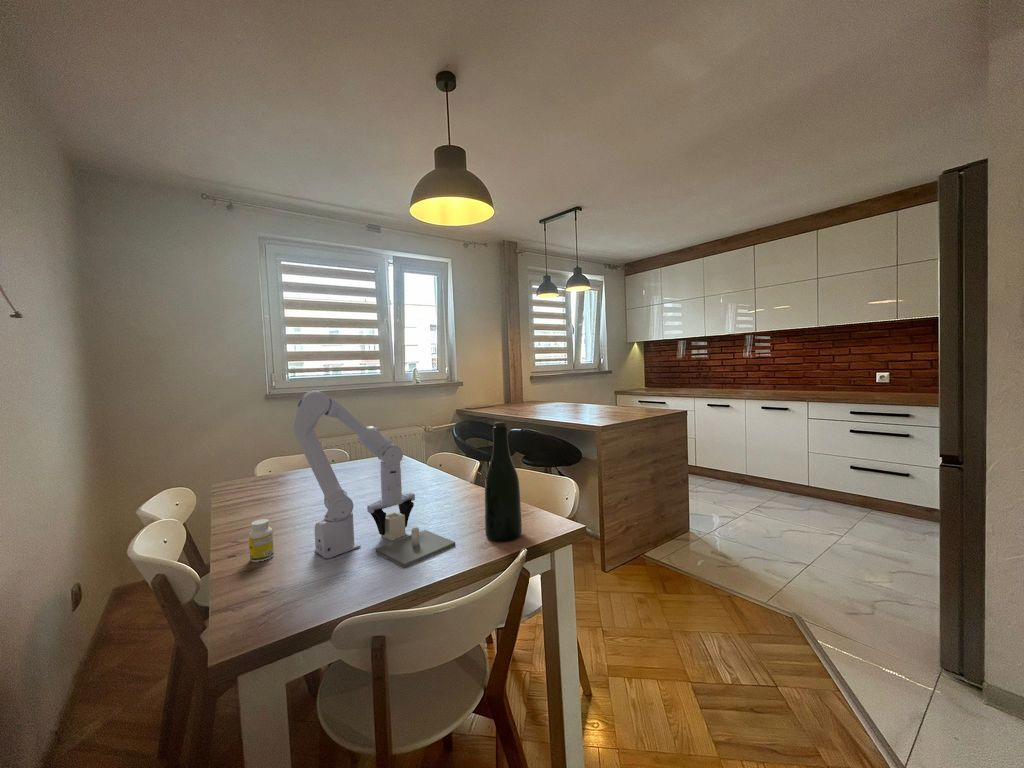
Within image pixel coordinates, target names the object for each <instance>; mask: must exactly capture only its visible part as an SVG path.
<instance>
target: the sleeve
mask: <svg viewBox="0 0 1024 768" xmlns="http://www.w3.org/2000/svg"><path fill="white" fill-rule="evenodd" d="M380 536H381V537H382V536H383V537H382V538H384V537H385V539H386V538H387V539H386V540H388V539H389V540H388V541H390V540H391V541H393V539H394V540H396V539H398V537H399V538H401V537H402V538H403V537H404V536H406V527H405V515H403V514H401V513H400V512H398V511H392V512H390V513H386V518H385V535H381V534H380Z"/></svg>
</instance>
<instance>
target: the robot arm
mask: <svg viewBox="0 0 1024 768" xmlns="http://www.w3.org/2000/svg"><path fill="white" fill-rule="evenodd" d="M323 416H326V417H329V418H330V417H331V418H336V419H337V420H338V421H340V422H341V423H342V424H344V425H345V426H346V427H347V428H349V429H350V430H351V431H353V432H354V433H355V434H357V436H358V442H359V443H360V445H363V447H364V448H366V449H367V450H368V451H370V452H371V453H372V454H373V455H375V456H377V458H378V460H381V461H380V488H381V492H380V493H381V499H380V500H378V501H376V502H372V503H370V504H367V507H366V509H367V513H369V514H370V515H371V516H372V519H373V520H374V522H375V524H376V527H377V530H378V534H379V535H380V536H381V535H385V518H386V514H387V513H386V512H385V511H384V509H387V508H391V507H394V506H398V509H399V513H401V514H403V515H405V528H408V523H409V518H410V514H411V512H412V509H413V508H414V505H415V503H414V502H413V501H416V495H415V493H413V492H410V493H405V494H403V491H402V473H401V472H402V469H401V462H402V461H403V459H404V458H403V457H404V454H403V452H402V449H401V448H400V447H399V446H397V445H396V444H394V443H393V440H392V439H391V438H388V437H386V436H385V435H384V434H383V433H382V432H381V431H382V430H381V428H379V427H377V426H376V427H375V426H373V425H370V426H369V425H367V426H366V425H365V424H364V423H363V422H362V421H360V420H359V419H358V417H356V416H355V415H354V414H353V413H351V411H349V410H348V409H347V408H346V407H345V406H344V405H342V404H341V403H339V402H338V401H336V400H335V399H333V398H331V397H329V396H328V395H327V394H326V393H324V392H322V391H318V390H310V391H307V392H306V393H305V392H304V394H303V395H302V397H300V399H299V401H298V403H297V404H296V411H295V414H294V419H293V423H292V431H293V433H294V436H295V437H296V440H297V442H298V444H299V446H300V448H301V449H302V451H303V454H304V456H305V458H306V460H307V462H308V464H309V466H310V468H311V470H312V473H313V475H314V477H315V479H316V481H317V483H318V485H319V487H320V490H321V491H322V493H323V497H324V498H323V503H324V504H323V505H324V506H325V508H326V509H327V511H326V513H325V515H324V518H323V519H322V520H320V521H318V522H316V523H315V524H314V544H315V547H314V552H316V553H317V554H319V555H320V556H321V557H323V558H324V559H326V560H327V559H330V558H334V557H336V556H339V555H341V554H345V553H347V552H350V551H353V550H356V549H358V548H361V544H359V543H358V542H356V541H355V531H354V530H355V529H354V525H355V524H354V511H353V510H354V502H353V500H352V499H351V498H350V497H349V496H348V493H347V491H345V490H344V489H343V488H342V486H341V485H340V482H339V481H338V478H337V476H336V474H335V472H334V470H333V468H332V466H331V463H330V462H329V459H328V456H327V455H326V452H325V451H324V449H323V447H322V445H321V442H320V440H319V438H318V435H317V434H316V432H315V428H316V426H317V424H318V422H319V420H320V419H321V418H322V417H323Z"/></svg>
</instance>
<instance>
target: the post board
mask: <svg viewBox="0 0 1024 768" xmlns="http://www.w3.org/2000/svg"><path fill="white" fill-rule="evenodd" d="M453 547H456V542H455V541H453V540H451V539H449V538H446V537H443V536H442V535H439V534H436V533H433V532H432V531H429V530H427V529H423V530H421V531H420V529H419V527H418V526H413V527H412V528H411V534H410V535H407V536H405V537H402V538H400V539H397V540H395V541H392V542H389V543H386V544H383V545H381V546H379V547H375V550H374V551H375V553H376V552H377V554H378V553H379V554H378V555H380V556H382V557H384V558H385V557H386V559H388V560H389V561H391V562H393V563H395V564H396V563H397V564H396V565H399V566H401V567H402V568H404V569H405V567H406V568H408V567H410V566H413V565H414V563H415V564H417V563H420V562H421V560H422V561H424V560H427V559H428V558H431V557H433V556H435V555H439V554H440V553H442V552H444V551H447V550H448V549H450V548H451V549H452V548H453ZM412 564H413V565H412ZM407 566H408V567H407Z"/></svg>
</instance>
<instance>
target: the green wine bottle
mask: <svg viewBox="0 0 1024 768" xmlns="http://www.w3.org/2000/svg"><path fill="white" fill-rule="evenodd" d="M493 425H494V426H493V427H492V439H493V440H492V442H493V443H492V453H491V459H490V462H489V465H488V469H487V471H486V475H485V479H484V524H485V525H484V526H485V527H484V529H485V537H486V538H487V539H488V540H489V541H491V542H496V543H509V542H513V541H516V540H518V539H519V538H520V537H521V536H522V532H523V530H522V529H523V526H522V507H521V506H522V504H521V489H520V480H519V475H518V472H517V468H515V464H514V462H513V460H512V457H511V453H510V447H509V439H508V438H509V436H508V433H509V428H508V426H507V423H506V422H505V421H494V423H493Z"/></svg>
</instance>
